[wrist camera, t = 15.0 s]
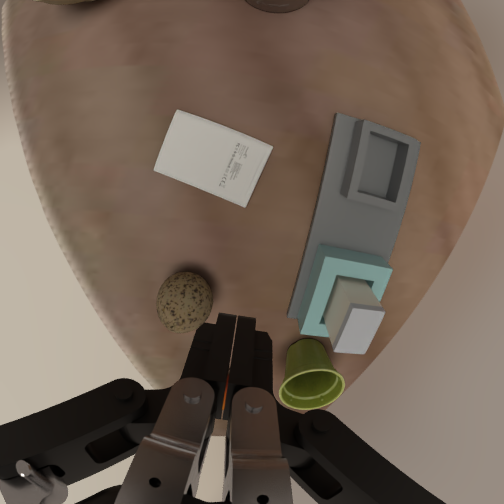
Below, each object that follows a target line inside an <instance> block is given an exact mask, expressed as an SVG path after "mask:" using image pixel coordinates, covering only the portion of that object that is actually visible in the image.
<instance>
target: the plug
mask: <svg viewBox="0 0 504 504" xmlns="http://www.w3.org/2000/svg"><path fill="white" fill-rule="evenodd" d="M384 314H385V310H384V309H383V307H382V306H381V304H380V302H379V301H378V299H377V298H376V296H375V295H374V293H373V292H372V290H371V288H370V287H369V285H368V284H367V282H366V281H365V280H364V279H358V278H353V277H347V276H341V275H336V278H335V281H334V284H333V287H332V290H331V293H330V296H329V298H328V301H327V304H326V307H325V310H324V312H323V318H324V321H325V324H326V327H327V331H328V334H329V337H330V341H331V344H332V348H333V351H334V352H340V353H354V354H365V352H366V351H367V349H368V347H369V345H370V343H371V341H372V339H373V337H374V335H375V333H376V331H377V329H378V327H379V325H380V323H381V321H382V319H383V317H384Z"/></svg>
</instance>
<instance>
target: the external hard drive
mask: <svg viewBox="0 0 504 504" xmlns="http://www.w3.org/2000/svg"><path fill="white" fill-rule="evenodd" d="M272 149H273V146H271V145H269V144H266V143H264V142H262V141H260V140H257V139H255V138H253V137H250V136H248V135H245V134H243V133H241V132H238V131H236V130H233V129H231V128H228V127H226V126H223V125H220V124H218V123H215V122H213V121H210V120H207V119H204V118H202V117H199V116H196V115H193V114H190V113H187V112H184V111H181V110H177V111H176V112H175V115H174V117H173V119H172V122H171V124H170V127H169V129H168V132H167V134H166V137H165V139H164V142H163V145H162V147H161V150H160V153H159V155H158V158H157V161H156V164H155V167H154V171H156V172H159V173H161V174H164V175H166V176H169V177H171V178H174V179H176V180H179V181H181V182H184V183H186V184H189V185H191V186H194V187H196V188H199V189H201V190H204V191H206V192H209V193H211V194H213V195H216V196H218V197H221V198H223V199H225V200H228V201H230V202H233V203H235V204H237V205H240V206H242V207H244V208H246V206H247V204H248V201H249V199H250V197H251V195H252V192H253V190H254V188H255V186H256V183H257V181H258V179H259V177H260V175H261V173H262V170H263V168H264V166H265V164H266V162H267V160H268V157H269V155H270V153H271V151H272Z"/></svg>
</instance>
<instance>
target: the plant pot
mask: <svg viewBox="0 0 504 504" xmlns="http://www.w3.org/2000/svg"><path fill="white" fill-rule="evenodd" d="M344 387H345V382H344V379H343V377H342V375H341V374H340V373H338V372H337V371H336V370H335V369H334V367H333V365H332V363H331V361H330V359H329V357H328V355H327V353H326V351H325V349H324V347H323V345H322V344H321V343H320V342H319V341H317V340H315V339H302V340H299V341H298V342H297V343H295V344H293V345H291V346H290V347H289V349H288V351H287V358H286V369H285V378H284V380H283V383H282V385H281V387H280V389H279V397H280V399H281V401H282V402H283V403H284V404H285V405H287V406H289V407H292V408H295V409H301V410H309V409H316V408H320V407H323V406H325V405H328V404H330V403H331V402H333V401H335V400H336V399H337V398H338V397H339V396H340V395H341V394H342V392H343V390H344Z"/></svg>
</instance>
